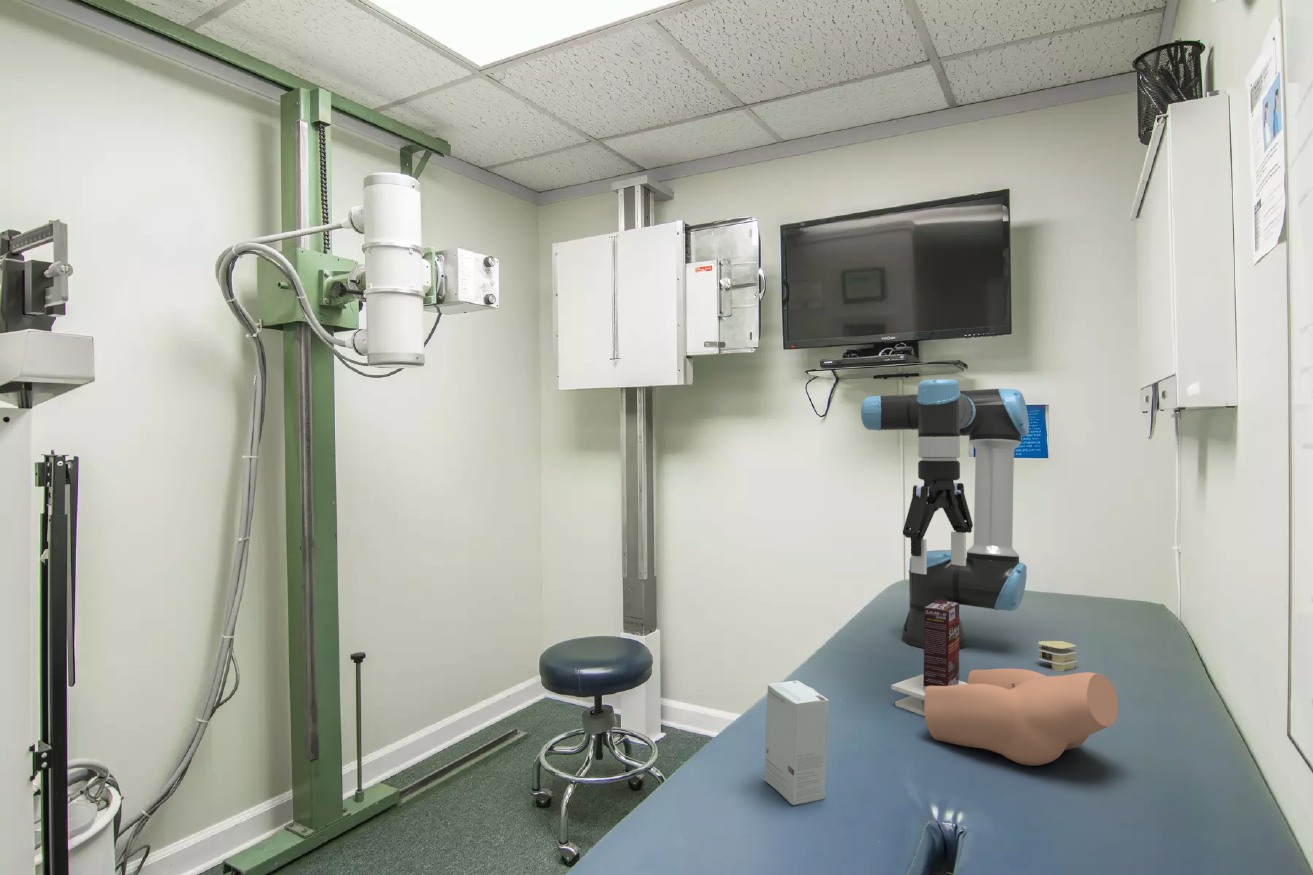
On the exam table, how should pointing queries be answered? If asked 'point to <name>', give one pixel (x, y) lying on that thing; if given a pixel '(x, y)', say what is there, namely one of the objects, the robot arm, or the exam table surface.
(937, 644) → the supplement box
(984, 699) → the medical training model
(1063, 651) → the beige layered block
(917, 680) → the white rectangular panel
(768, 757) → the skincare box
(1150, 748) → the exam table surface
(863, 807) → the exam table surface
